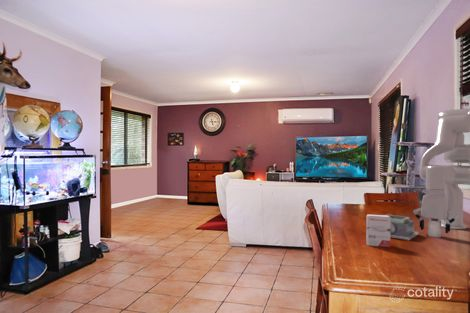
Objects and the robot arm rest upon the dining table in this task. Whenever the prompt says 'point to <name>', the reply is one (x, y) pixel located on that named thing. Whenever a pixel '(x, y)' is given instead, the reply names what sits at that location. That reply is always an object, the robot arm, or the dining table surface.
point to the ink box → (378, 230)
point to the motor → (402, 227)
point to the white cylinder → (434, 228)
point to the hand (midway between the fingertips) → (434, 231)
